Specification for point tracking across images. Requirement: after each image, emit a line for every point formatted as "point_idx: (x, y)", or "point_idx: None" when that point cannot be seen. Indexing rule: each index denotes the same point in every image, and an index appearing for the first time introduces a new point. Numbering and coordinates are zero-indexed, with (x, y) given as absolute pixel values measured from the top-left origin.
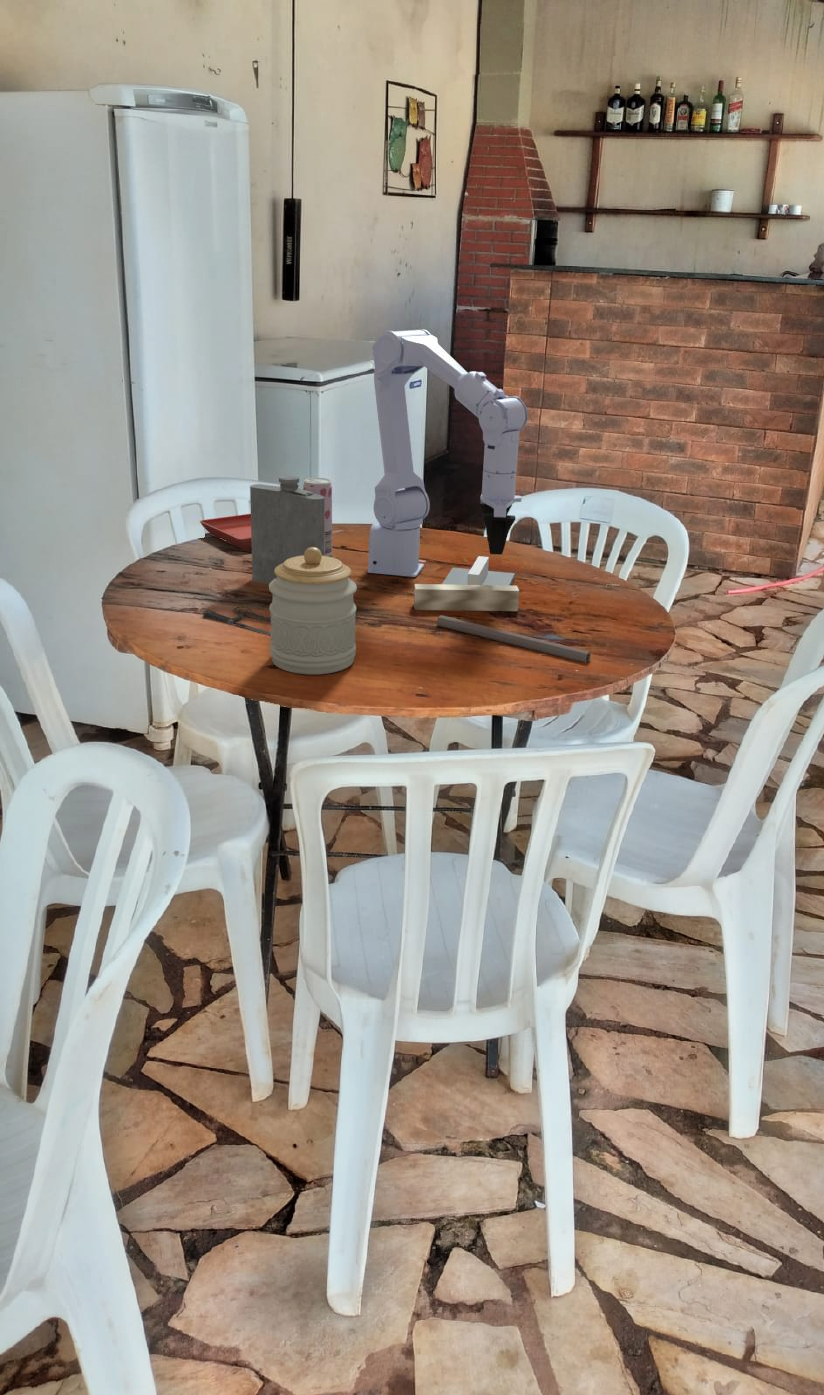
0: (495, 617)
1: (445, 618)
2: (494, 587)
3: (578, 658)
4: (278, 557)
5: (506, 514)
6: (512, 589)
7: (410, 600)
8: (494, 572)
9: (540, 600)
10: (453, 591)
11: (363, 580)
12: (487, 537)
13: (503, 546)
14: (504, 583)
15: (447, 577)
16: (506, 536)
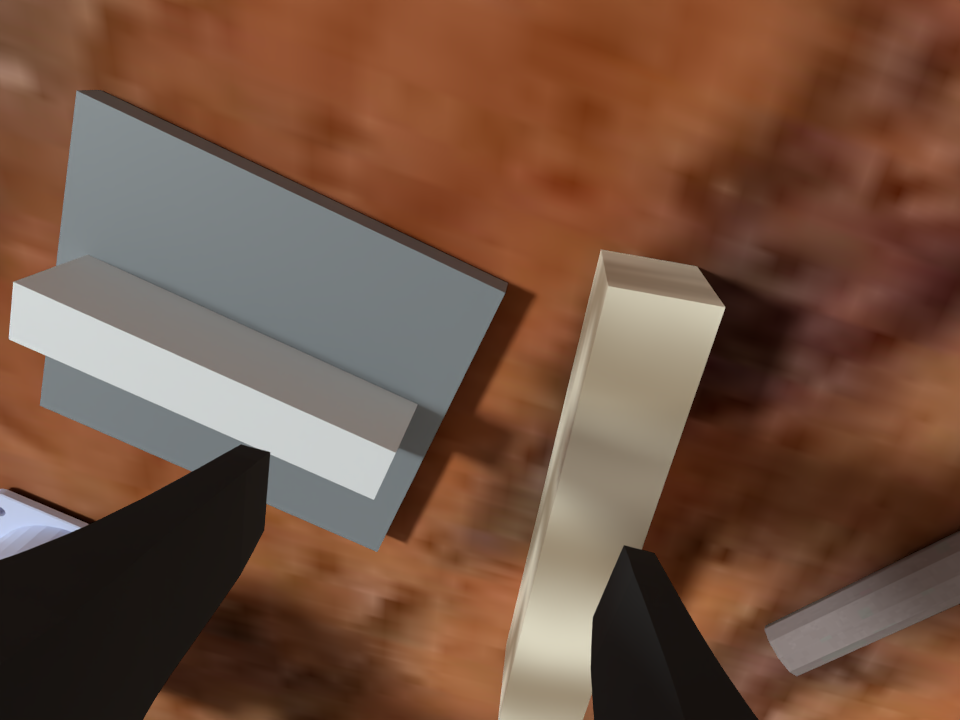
0: (762, 408)
1: (827, 661)
2: (620, 430)
3: None
4: None
5: (51, 635)
6: (685, 340)
7: (458, 642)
8: (81, 217)
9: (531, 54)
10: None
11: (220, 704)
12: (242, 566)
13: (685, 613)
14: (289, 224)
15: None
16: (755, 716)
